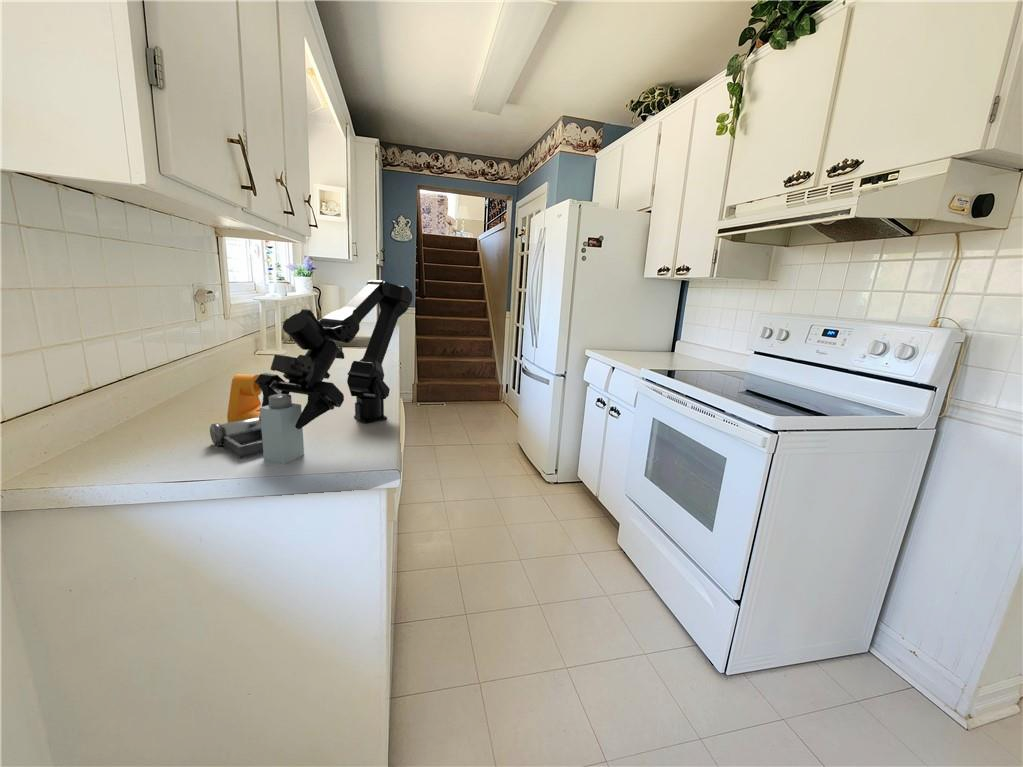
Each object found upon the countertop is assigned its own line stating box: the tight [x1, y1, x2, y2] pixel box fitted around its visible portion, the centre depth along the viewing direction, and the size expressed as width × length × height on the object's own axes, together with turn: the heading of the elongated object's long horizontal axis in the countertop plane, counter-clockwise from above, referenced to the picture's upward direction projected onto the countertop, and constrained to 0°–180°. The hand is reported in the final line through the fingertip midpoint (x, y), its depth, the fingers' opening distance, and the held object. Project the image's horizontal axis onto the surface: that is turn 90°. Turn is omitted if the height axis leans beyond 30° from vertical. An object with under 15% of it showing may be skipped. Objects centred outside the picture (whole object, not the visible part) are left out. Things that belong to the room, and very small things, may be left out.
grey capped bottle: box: [260, 393, 305, 465], centre depth 86 cm, size 5×5×13 cm
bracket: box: [226, 373, 263, 423], centre depth 106 cm, size 11×7×12 cm, turn 1°
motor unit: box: [209, 417, 263, 460], centre depth 93 cm, size 13×13×5 cm
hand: (278, 424), depth 85 cm, fingers open, 9 cm apart
